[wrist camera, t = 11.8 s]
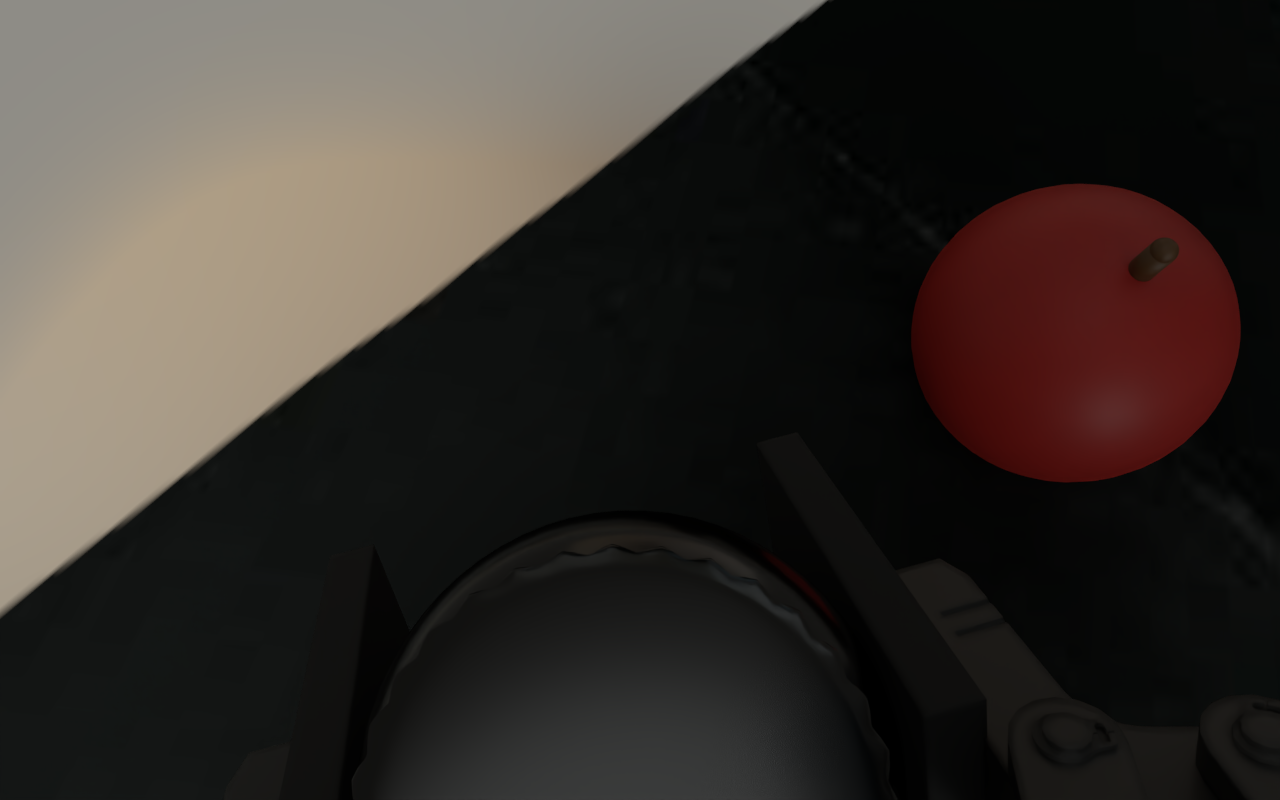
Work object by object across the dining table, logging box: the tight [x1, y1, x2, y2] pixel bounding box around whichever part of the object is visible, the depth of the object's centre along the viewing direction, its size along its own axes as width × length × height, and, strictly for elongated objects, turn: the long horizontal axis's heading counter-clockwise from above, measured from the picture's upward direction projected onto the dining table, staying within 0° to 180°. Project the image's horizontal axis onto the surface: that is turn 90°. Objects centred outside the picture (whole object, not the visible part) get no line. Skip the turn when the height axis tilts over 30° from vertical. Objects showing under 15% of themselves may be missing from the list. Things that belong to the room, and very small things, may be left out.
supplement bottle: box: [351, 511, 908, 800], centre depth 13 cm, size 7×7×12 cm
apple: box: [911, 184, 1240, 482], centre depth 24 cm, size 8×8×9 cm
